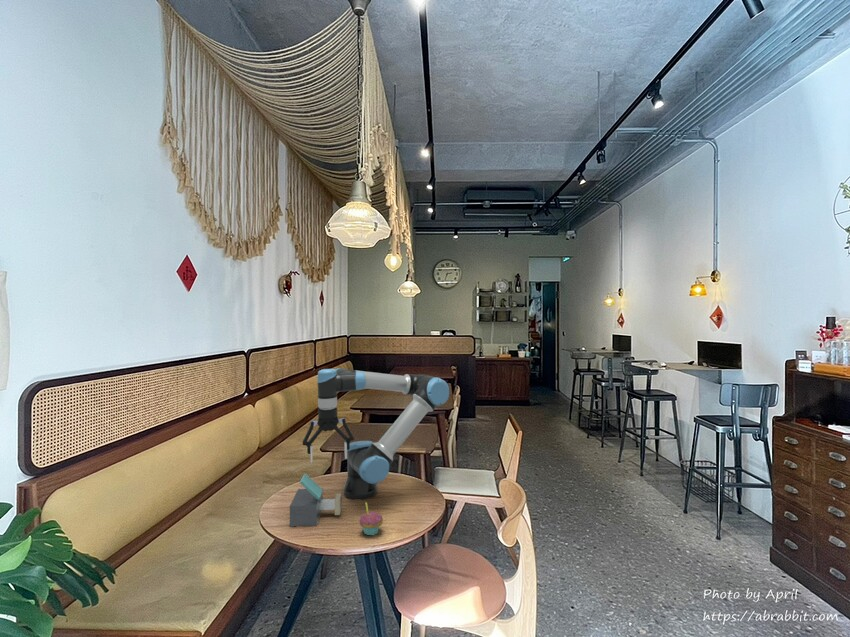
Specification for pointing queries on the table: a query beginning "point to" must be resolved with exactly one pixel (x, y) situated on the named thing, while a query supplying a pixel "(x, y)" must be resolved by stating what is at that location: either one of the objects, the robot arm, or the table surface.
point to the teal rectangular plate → (311, 486)
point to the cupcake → (370, 522)
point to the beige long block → (331, 504)
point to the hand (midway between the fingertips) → (328, 459)
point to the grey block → (304, 509)
